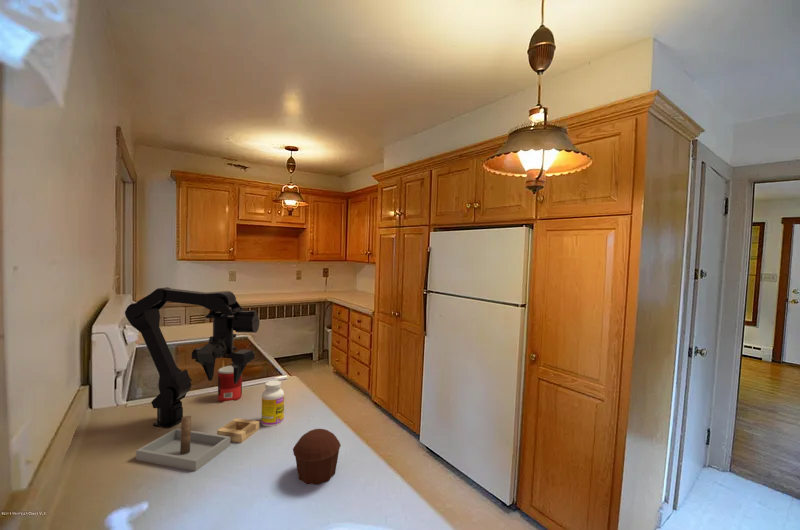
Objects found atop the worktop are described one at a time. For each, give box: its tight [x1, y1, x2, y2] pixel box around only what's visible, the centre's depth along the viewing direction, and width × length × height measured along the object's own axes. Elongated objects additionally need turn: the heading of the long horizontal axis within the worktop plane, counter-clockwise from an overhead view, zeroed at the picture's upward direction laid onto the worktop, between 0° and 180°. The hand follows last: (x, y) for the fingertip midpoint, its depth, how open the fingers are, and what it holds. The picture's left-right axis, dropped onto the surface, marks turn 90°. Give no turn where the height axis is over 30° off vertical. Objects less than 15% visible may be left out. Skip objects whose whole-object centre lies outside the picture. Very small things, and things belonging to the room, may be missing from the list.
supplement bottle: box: [260, 379, 285, 428], centre depth 112 cm, size 7×7×13 cm
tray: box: [135, 427, 231, 472], centre depth 95 cm, size 18×12×3 cm, turn 77°
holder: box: [216, 417, 260, 444], centre depth 105 cm, size 8×8×3 cm
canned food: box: [217, 365, 243, 403], centre depth 131 cm, size 8×8×11 cm
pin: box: [180, 415, 192, 454], centre depth 95 cm, size 2×2×9 cm
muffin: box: [292, 428, 342, 486], centre depth 87 cm, size 12×11×10 cm
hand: (223, 381), depth 112 cm, fingers open, 9 cm apart
